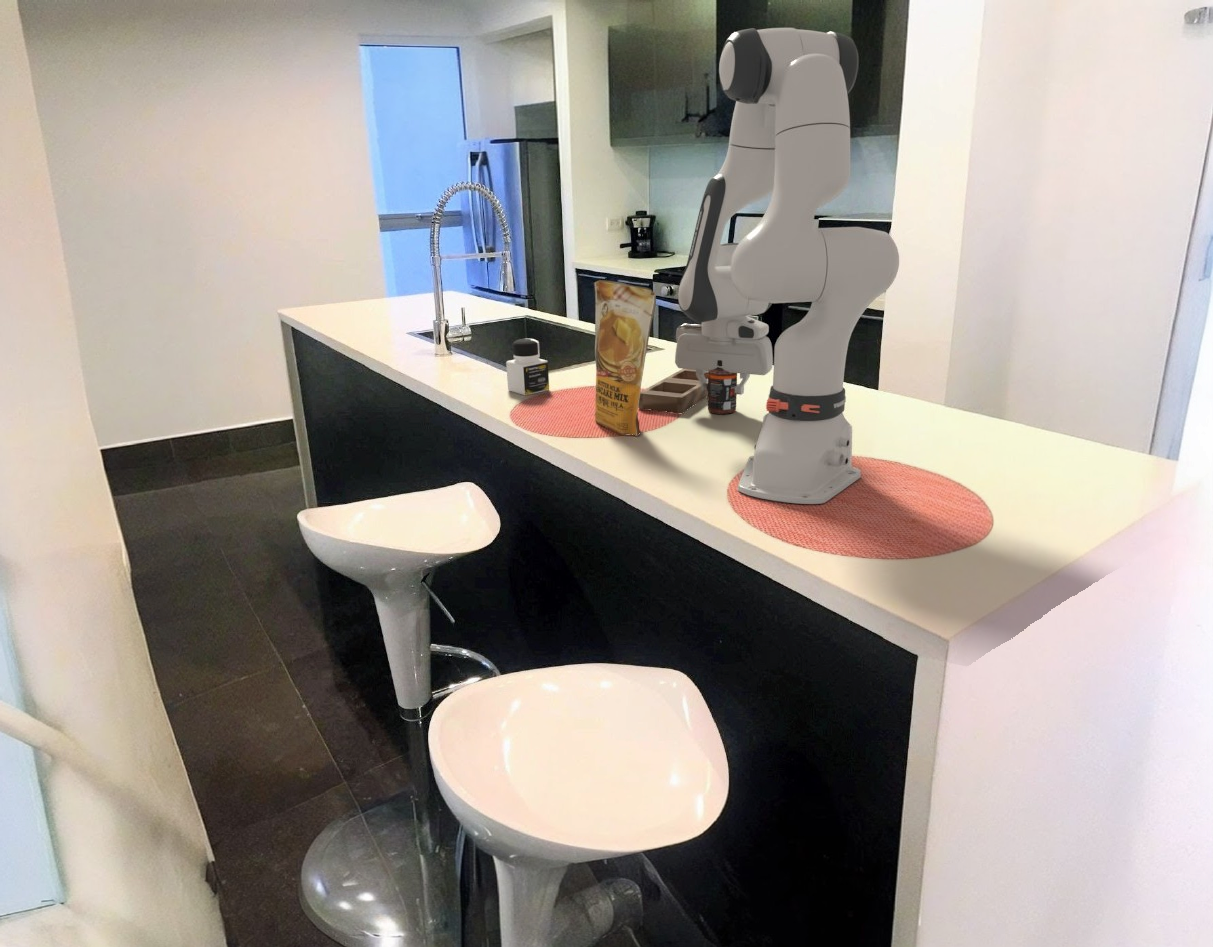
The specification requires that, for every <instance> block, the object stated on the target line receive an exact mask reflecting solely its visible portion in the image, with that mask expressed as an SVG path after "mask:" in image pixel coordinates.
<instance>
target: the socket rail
mask: <svg viewBox="0 0 1213 947" xmlns="http://www.w3.org/2000/svg"><path fill="white" fill-rule="evenodd" d="M708 372H709V371H706V373H704V376H705V378H706V380H707V381H708ZM707 396H708V391H701V383H700V381H699V379H698V378H697V376H696V370H694V369H683V368H681V369H680V370H678V371H676V372H674V373H673V374H670V375H669V376H667V377H665V378H664V379H661V380H660V381H658V382H656V383H654V384H652V385H651V386H649V387H647V388H645V389H644V390H642V391H641V390H640V398H639V404H638V408H640V409H639V410H642V409H651V410H657V411H656V412H660V411H667V412H666V413H669V412H673V413H672V414H678V413H682V414H684V413H685V412H687V411H688V410H690V409H691V408H693V407H694V406H696V405H697V404H699V403H701V402H702V401H704V400H705V399H707V398H708V397H707ZM706 397H707V398H706ZM703 399H704V400H703ZM695 404H696V405H695ZM693 405H694V406H693ZM692 406H693V407H692ZM690 407H691V408H690ZM689 408H690V409H689ZM687 409H688V410H687ZM651 410H650V411H651ZM683 412H684V413H683Z"/></svg>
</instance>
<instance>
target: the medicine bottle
mask: <svg viewBox="0 0 1213 947" xmlns="http://www.w3.org/2000/svg"><path fill="white" fill-rule="evenodd" d="M512 352H513V354H512V355H513V359H511V360H507V361H506V362H505V365H506V366H505V367H506V379H507V390H508V391H509V392H512V393H516V394H520V395H522V396H529V395H534V394H537V393H543V392H547V391H549V390H550V378H549V375H550V374H549V361H548V360H547V359H546V360H545V359H542V358H540V357H541V356H540V342H539V340H536V339H534V338H519V339H517V340H515V341H513V343H512Z"/></svg>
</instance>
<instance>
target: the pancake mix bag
mask: <svg viewBox="0 0 1213 947" xmlns="http://www.w3.org/2000/svg"><path fill="white" fill-rule="evenodd" d="M593 286H594V299H595V300H594V303H595V304H594V310H595V316H594V317H595V318H594V319H595V320H594V323H595V324H594V333H595V335H594V336H595V337H594V338H595V339H594V356H595V372H596V374H595V395H594V396H595V398H594V399H595V400H594V401H595V404H594V405H595V410H594V411H595V412H594V418H595V419H594V420H595V422H596V423H597V424H599V425H601V426H603V427H604V426H605V428H607V429H608V428H609V429H608V430H611V431H613V430H614V431H613V432H615V433H616V432H618V433H617V434H619V433H620V434H619V435H621V434H624V435H623V436H627V435H626V434H633V435H632V436H634V435H635V436H636V437H639V435H640V434H641V433H640V432H641V429H640V421H639V418H638V415H639V414H638V412H639V411H638V410H639V409H638V404H639V398H640V392H641V389H642V388H641V387H642V381H643V375H644V368H645V363H646V356H647V351H648V347H649V340H650V335H651V327H652V322H653V319H654V315H655V311H656V306H657V305H656V304H657V297H656V296H657V294H655V292H654V291H653V289H651V288H648V287H644V286H636V285H633V284H632V285H631V284H627V283H625V282H624V283H623V282H619V281H612V280H603V279H602V280H601V279H599V280H597V281H595V282H593ZM639 433H640V434H639ZM638 434H639V435H638ZM635 436H634V437H635Z"/></svg>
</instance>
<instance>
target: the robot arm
mask: <svg viewBox="0 0 1213 947" xmlns="http://www.w3.org/2000/svg"><path fill="white" fill-rule="evenodd" d="M718 64H719V65H718V66H719V67H718V74H719V83H720V87H721V90H722V91H723V92H724V94H725V95H726V97H727V98H729V100H732V101H735V105H734V110H733V113H732V119H731V124H730V125H731V126H730V131H729V139H728V146H727V147H728V148H727V153H726V156H725V158H724V162H723V164H722V166H721V167H720V170H719V171H718V173H717V174H716V175H715V176H713V177H712V178H711V179H709V180H708V183H707V185H706V188H705V191H704V194H703V196H702V199H701V204H700V207H699V211H698V214H697V220H696V222H695V223H696V225H695V228H694V233H693V237H692V240H691V241H692V242H691V245H690V250H689V254H688V257H687V262H686V265H685V268H684V270H683V273H682V276H681V278H680V281H679V284H678V290H677V303H678V306H679V309H680V310H681V311H682V313H683V314H684V315H686V317H688V318H689V319H691V320H692V321H694V322H696V323H697V324H696V323H694V324H692V323H691V324H690V323H683V324H682V325H679V326H678V327H677V328H676V331H675V340H676V348H675V356H674V363H675V365H676V367H677V368H678V369H694V370H696V376H697V378H698V379H699V381H700V383H701V391H708V381H707V380H706V378H705V376H704V373H706V371H710V370H713V369H715V368H717V367H719V368H723V369H724V370H725V371H728V372H730V373H737V374H739V379H740V380H741V379H742V380H741V381H740V382H739V383H737V385H735V387H734V389H735V391H734V394H737V395H740V396H741V395H744V392H745V385H746V384H747V382H748V381H749V379H750V376H751V375H753V376H754V375H755V376H756V375H757V376H765V375H768V373H769V372H771V370H773V375H772V376H773V377H772V385H771V386H770V389H769V394H768V398H767V400H766V404H765V409H766V411H767V412H768V413H766V414H764V415H763V417H762V424H761V428H760V431H759V435H758V438H757V441H756V443H755V445H754V452H753V455H750V456H749V457H748V458H747V461H746V464H745V467H744V469H743V471H742V474H741V476H740V478H739V481H738V485H737V491H738V492H740V493H742V494H744V495H747V496H751V497H755V498H758V499H763V500H768V501H773V502H782V503H788V504H790V503H791V504H803V505H818V504H821V505H822V504H824V503H825V504H826V503H827V502H828V501H830V500H831V499H832V498H833V497H835V496H836V495H838V494H839V493H841V492H842V491H844V490H845V489H846V488H847V487H849V486H851V485H852V484H853V483H854V482H856V481H858V480H859V479H861V477H862V476H861V475H862V471H861V470H860V469H859V468H857V467H855V466H852V458H853V456H852V454H853V425H852V424H851V423H850V422H849V421H848V420H847V419H846V417H845V414H844V413H843V412H844V411H845V408H846V407H845V406H846V397H847V396H846V389H845V388H844V379H845V378H844V377H845V368H846V361H847V354H848V347H849V344H850V343H849V342H850V339H851V336H852V333H853V331H854V330H855V327H856V325H857V323H858V322H859V319H860V318H861V316H862V315H863V314H864V312H865V310H867V309H868V308H869V306H870V305H871V304H872V303H873V302H874V301H876V299H877V298H879V297H880V296H882V294H884V293H885V292H887V291H888V289H889V288H890V287H891V285H892V284H893V283H894V281H895V279H896V277H897V274H898V271H899V269H900V268H899V267H900V254H899V249H898V247H897V244H896V242H895V240H894V239H893V238H892V236H891V235H890V234H889V233H888V232H886V231H883V230H880V229H879V230H878V229H874V228H867V227H862V226H846V227H845V226H841V227H840V226H839V227H815V225H814V224H815V222H814V221H815V215H816V212H817V209H819V208H821V207H823V206H825V205H826V204H829V203H830V202H831V201H833V200H835V199H836V198H838V197H839V196H840V195H841V194H842V193H843V192H844V191H845V190H846V188H847V186H848V185H849V183H850V180H851V174H852V172H851V169H852V168H851V122H850V121H851V118H850V116H851V115H850V106H849V96H848V94H850V92H851V91H852V89H853V88H854V85H855V83H856V81H857V80H856V79H857V76H858V72H859V65H860V64H859V52H858V49H857V46H856V44H855V41H854V39H852V37H850V36H848V35H846V34H843V33H840V32H836V31H828V32H823V31H816V30H810V29H809V30H808V29H800V28H799V29H797V28H795V27H771V28H763V29H762V28H761V29H756V28H753V27H752V28H747V29H741V30H738V31H734V32H733V33H731V34H730V36H729V37H728V38H727V39H726V41H725V42H724V44H723V47H722V50H721V55H720V58H719V63H718ZM768 196H771V197H770V200H769V204H768V206H767V208H766V211H765V212H764V215H763V216H762V218H761V219H760V221H759V222H758V223H757V225H755V227H754V228H753V229H752V230H751V231H750V232H749V233H747V234H746V235H745V236H744V237H743V238H742V239H741V240H740V241H739V243H736V242H732V243H731V242H729V243H722V238H723V234H724V231H725V227H726V225H727V224H728V221H729V220H730V219H731V218H732V217H733V216H734V215H736V214H737V213H738V212H739V211H741V210H742V209H744V208H746V207H748V206H749V205H752V204H754V203H756V202H758V201H761V200H764V199H765V198H767V197H768ZM806 302H811V305H810V308H809V310H808V312H807V313H806V315H805V316H803V318H802V319H801V320H800V321H799V322H797V323H795V324H793V325H791V326H790V327H788V328H786V329H785V330H784V331H783V332H782V333H781V334H780V335H779V337H777V339H776V342H775V344H774V350H773V346H772V342H771V340H770V338H769V336H767V335H768V334H769V331H770V330H769V329H770V327H769V324H767V323H765V322H763V321H760V320H757V319H756V318H753V317H751V316H757V315H761V314H765V312H767V311H768V310H769V308H770V307H771V306H772V304H786V303H788V304H789V303H806ZM773 352H774V354H773ZM773 355H774V356H773ZM717 360H722V365H723V366H717Z"/></svg>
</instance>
